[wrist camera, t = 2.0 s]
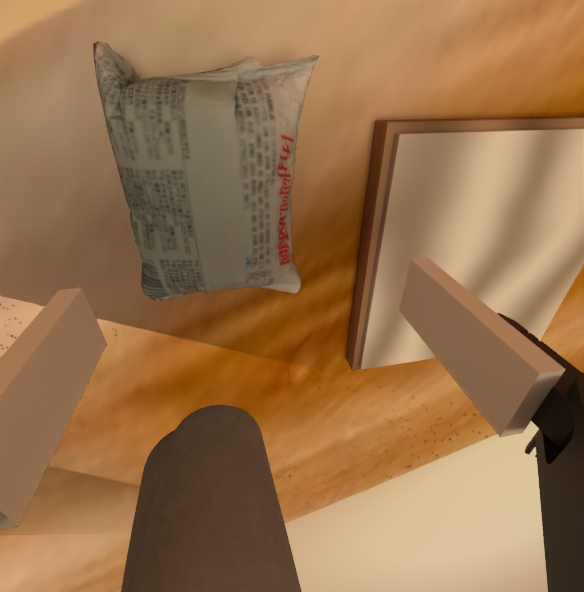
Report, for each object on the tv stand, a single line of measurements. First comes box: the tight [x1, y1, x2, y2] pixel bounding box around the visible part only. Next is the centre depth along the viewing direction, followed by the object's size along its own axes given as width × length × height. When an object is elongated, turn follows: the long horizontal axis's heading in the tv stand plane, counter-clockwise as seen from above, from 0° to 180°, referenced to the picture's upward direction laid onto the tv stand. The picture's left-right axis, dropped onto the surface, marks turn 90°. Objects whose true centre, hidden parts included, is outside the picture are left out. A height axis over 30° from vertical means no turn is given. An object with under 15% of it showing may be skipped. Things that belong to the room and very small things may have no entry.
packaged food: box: [93, 42, 319, 301], centre depth 15 cm, size 9×12×5 cm
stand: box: [346, 116, 584, 370], centre depth 22 cm, size 18×18×2 cm
